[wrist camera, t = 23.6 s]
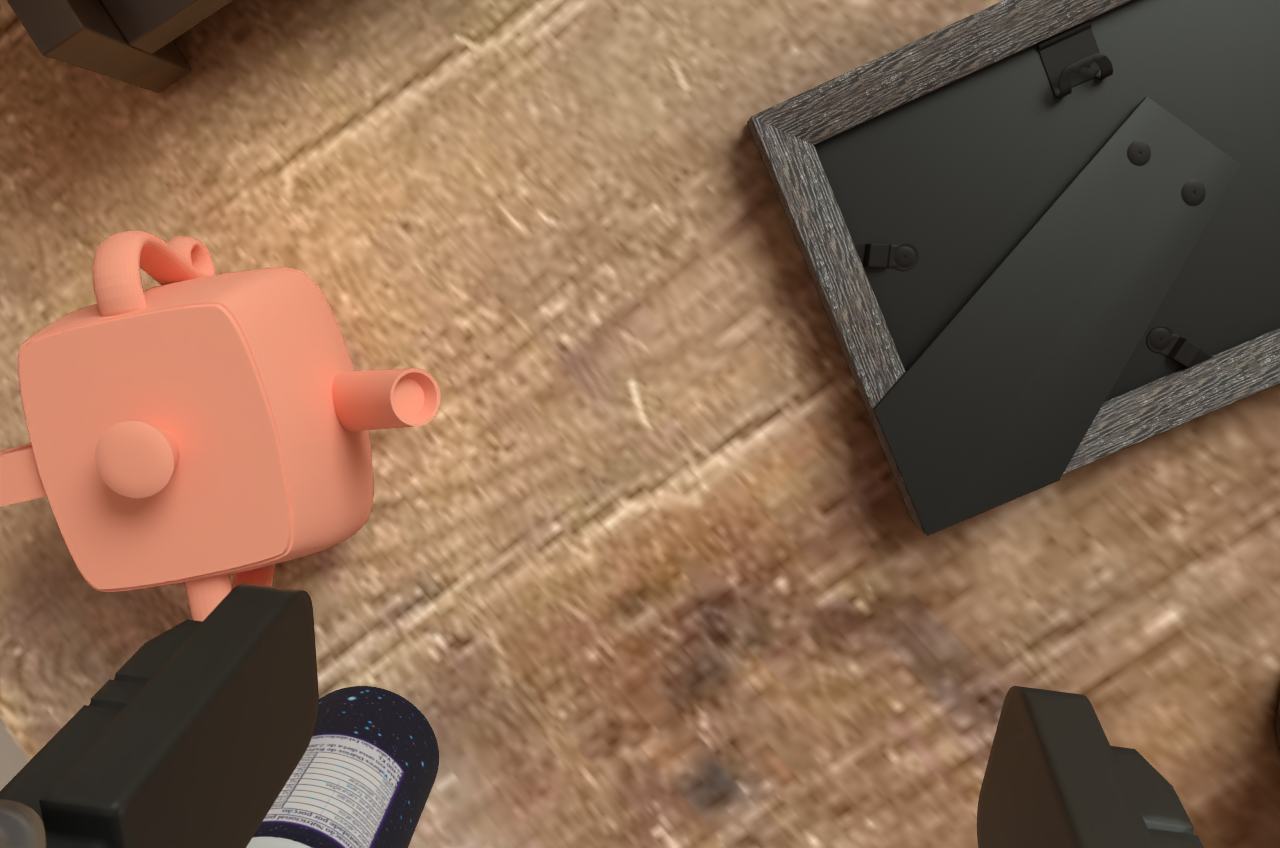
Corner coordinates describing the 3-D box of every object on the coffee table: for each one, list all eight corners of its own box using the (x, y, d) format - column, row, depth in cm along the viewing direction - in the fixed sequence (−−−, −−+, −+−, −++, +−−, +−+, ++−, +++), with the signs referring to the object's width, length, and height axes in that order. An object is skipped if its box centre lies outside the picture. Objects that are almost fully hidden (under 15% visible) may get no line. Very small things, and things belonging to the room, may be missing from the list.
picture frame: (912, 521, 38) (1451, 293, 37) (927, 536, 36) (1497, 296, 35) (746, 122, 36) (1316, -140, 34) (752, 114, 34) (1357, -164, 32)
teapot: (485, 368, 37) (431, 405, 28) (307, 614, 39) (199, 729, 30) (222, 177, 36) (72, 148, 27) (50, 438, 38) (-149, 499, 28)
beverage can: (270, 734, 40) (111, 937, 28) (377, 647, 39) (261, 818, 27) (366, 836, 41) (251, 1076, 29) (473, 753, 40) (400, 963, 28)
